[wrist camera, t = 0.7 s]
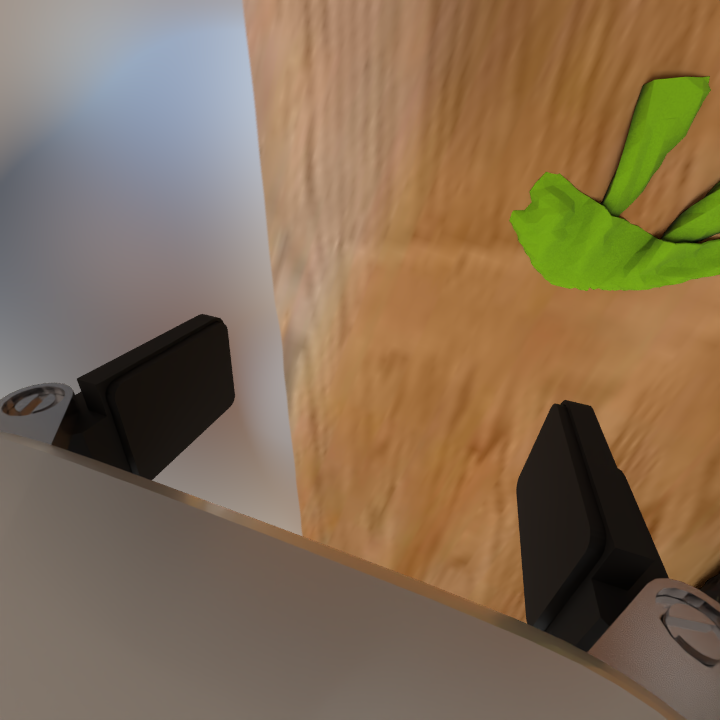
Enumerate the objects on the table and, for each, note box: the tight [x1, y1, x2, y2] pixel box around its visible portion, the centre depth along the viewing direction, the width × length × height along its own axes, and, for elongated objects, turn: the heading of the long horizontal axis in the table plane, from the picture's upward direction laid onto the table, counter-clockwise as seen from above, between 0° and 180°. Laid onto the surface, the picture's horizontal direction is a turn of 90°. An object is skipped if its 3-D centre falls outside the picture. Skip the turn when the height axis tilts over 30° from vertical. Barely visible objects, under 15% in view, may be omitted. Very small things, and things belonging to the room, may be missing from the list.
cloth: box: [509, 76, 720, 291], centre depth 27 cm, size 20×22×2 cm
